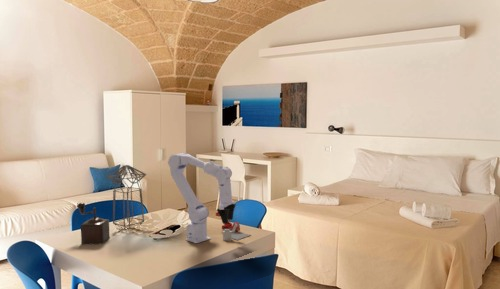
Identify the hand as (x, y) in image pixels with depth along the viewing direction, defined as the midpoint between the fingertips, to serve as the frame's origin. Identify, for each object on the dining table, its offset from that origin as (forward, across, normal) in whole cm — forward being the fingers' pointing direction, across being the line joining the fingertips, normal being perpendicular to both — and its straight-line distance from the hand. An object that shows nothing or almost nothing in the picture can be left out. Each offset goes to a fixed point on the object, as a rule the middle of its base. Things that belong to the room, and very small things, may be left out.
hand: (227, 221), depth 190 cm
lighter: (+11, +5, +1) cm, 12 cm away
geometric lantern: (+6, +7, +59) cm, 59 cm away
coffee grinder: (+6, -12, +67) cm, 69 cm away
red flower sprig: (+10, +20, +7) cm, 23 cm away
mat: (+10, +12, 0) cm, 16 cm away
